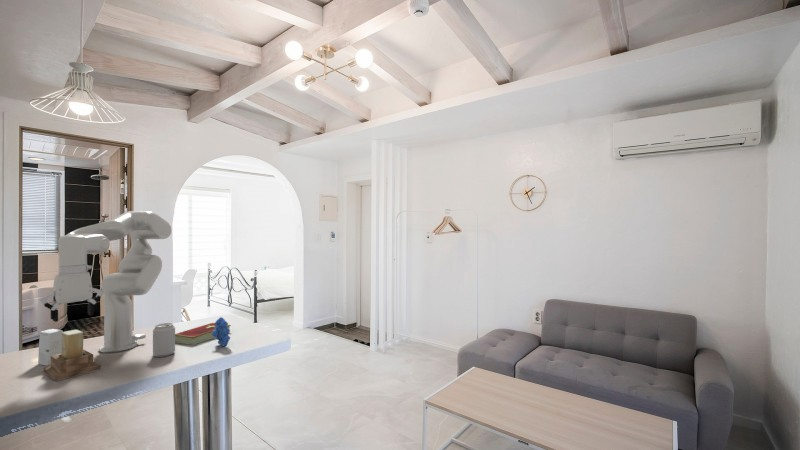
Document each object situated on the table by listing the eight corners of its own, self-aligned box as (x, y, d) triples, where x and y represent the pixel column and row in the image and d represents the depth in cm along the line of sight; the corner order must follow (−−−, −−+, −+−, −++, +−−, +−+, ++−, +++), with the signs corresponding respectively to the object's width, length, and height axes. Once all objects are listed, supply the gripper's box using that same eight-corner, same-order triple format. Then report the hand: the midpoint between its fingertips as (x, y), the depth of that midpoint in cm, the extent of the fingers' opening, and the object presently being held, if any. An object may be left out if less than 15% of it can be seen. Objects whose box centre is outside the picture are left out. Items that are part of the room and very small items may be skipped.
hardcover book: (172, 343, 161) (172, 333, 161) (211, 330, 181) (212, 321, 181) (193, 346, 157) (193, 336, 157) (230, 333, 177) (230, 324, 177)
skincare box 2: (60, 366, 129) (60, 331, 129) (76, 362, 133) (76, 329, 133) (67, 370, 126) (68, 334, 126) (83, 366, 129) (83, 331, 129)
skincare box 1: (37, 364, 135) (37, 331, 135) (52, 360, 139) (52, 328, 139) (48, 366, 133) (48, 333, 133) (62, 361, 137) (63, 329, 137)
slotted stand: (86, 361, 138) (86, 346, 138) (100, 369, 130) (100, 354, 130) (42, 371, 128) (43, 356, 128) (55, 381, 120) (55, 364, 120)
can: (179, 352, 148) (179, 323, 148) (160, 358, 141) (160, 327, 141) (167, 350, 151) (167, 321, 151) (148, 355, 144) (148, 325, 144)
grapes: (206, 345, 157) (206, 317, 157) (222, 341, 162) (222, 314, 162) (217, 351, 149) (217, 322, 150) (233, 347, 155) (233, 319, 155)
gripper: (99, 266, 138) (99, 311, 139) (36, 272, 124) (36, 321, 124) (106, 268, 134) (107, 314, 135) (42, 273, 120) (43, 325, 120)
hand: (73, 317), depth 129 cm, fingers open, 9 cm apart
